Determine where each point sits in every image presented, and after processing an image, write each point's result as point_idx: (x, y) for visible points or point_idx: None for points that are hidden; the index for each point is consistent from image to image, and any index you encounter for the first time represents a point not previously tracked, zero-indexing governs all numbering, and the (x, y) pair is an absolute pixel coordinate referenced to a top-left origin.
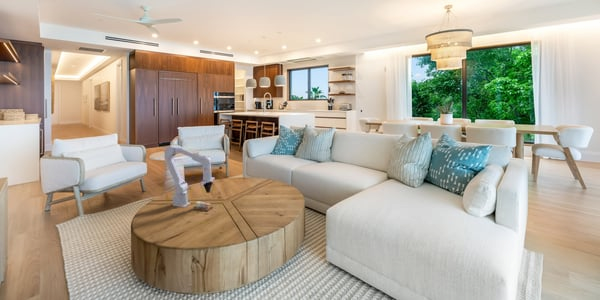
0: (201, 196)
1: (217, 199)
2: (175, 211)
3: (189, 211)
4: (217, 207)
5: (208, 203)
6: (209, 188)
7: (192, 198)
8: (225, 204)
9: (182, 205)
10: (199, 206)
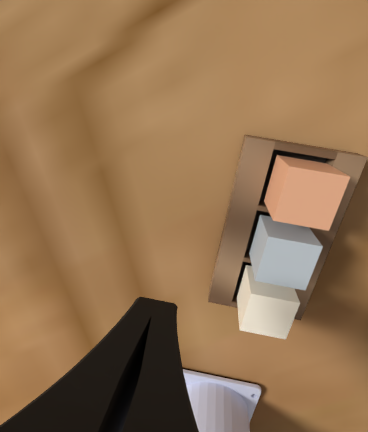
0: (7, 346)
1: (2, 198)
2: (349, 402)
3: (350, 317)
4: (215, 92)
5: (301, 191)
6: (142, 374)
7: None
8: (98, 30)
9: (244, 401)
10: None
